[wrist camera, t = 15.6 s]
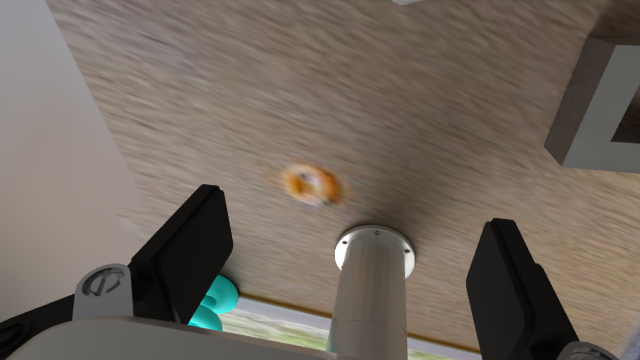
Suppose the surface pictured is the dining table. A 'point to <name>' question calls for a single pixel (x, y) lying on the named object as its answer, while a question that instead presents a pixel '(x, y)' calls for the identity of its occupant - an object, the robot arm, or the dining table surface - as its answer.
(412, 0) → the flask
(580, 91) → the gray square-hole block
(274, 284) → the dining table surface
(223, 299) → the donuts
